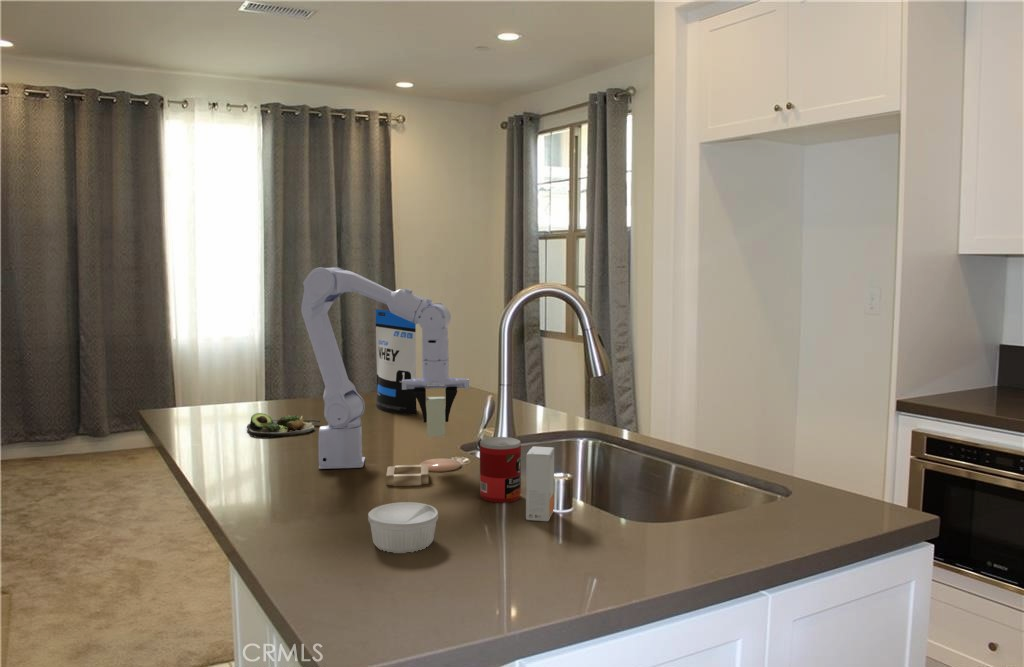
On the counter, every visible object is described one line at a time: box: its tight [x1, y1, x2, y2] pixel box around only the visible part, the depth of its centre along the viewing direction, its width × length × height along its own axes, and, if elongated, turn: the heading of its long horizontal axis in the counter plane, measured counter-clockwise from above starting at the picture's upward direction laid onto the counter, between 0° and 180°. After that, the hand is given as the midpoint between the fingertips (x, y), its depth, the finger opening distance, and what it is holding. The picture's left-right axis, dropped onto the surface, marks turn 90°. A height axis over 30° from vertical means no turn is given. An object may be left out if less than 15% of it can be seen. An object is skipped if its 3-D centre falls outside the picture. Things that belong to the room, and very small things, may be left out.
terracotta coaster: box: [419, 458, 462, 473], centre depth 175 cm, size 9×9×1 cm
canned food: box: [479, 436, 522, 504], centre depth 152 cm, size 8×8×11 cm
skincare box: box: [525, 446, 555, 522], centre depth 141 cm, size 6×4×12 cm
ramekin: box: [367, 501, 439, 554], centre depth 128 cm, size 11×11×5 cm
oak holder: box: [385, 464, 429, 487], centre depth 165 cm, size 8×8×2 cm
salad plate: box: [246, 412, 321, 438], centre depth 213 cm, size 19×18×5 cm
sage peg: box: [426, 396, 446, 438], centre depth 173 cm, size 4×4×8 cm
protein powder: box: [375, 309, 418, 416], centre depth 241 cm, size 10×24×30 cm, turn 38°
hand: (436, 421), depth 173 cm, fingers closed on sage peg, 4 cm apart
